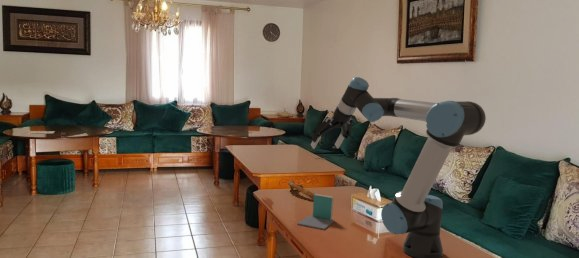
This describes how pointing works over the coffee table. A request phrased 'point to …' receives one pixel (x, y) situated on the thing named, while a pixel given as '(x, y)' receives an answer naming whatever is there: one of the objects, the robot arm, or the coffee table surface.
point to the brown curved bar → (301, 189)
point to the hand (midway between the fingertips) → (324, 146)
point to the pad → (315, 222)
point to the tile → (323, 206)
